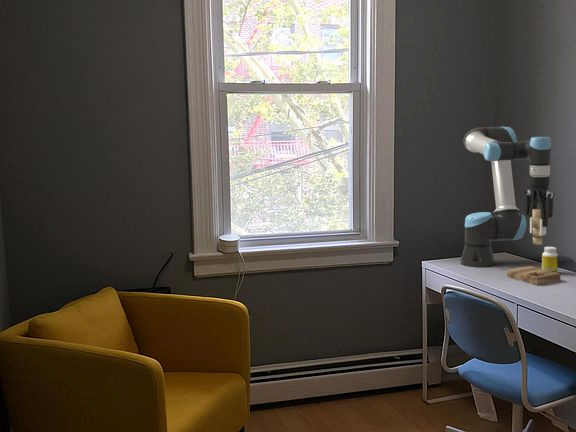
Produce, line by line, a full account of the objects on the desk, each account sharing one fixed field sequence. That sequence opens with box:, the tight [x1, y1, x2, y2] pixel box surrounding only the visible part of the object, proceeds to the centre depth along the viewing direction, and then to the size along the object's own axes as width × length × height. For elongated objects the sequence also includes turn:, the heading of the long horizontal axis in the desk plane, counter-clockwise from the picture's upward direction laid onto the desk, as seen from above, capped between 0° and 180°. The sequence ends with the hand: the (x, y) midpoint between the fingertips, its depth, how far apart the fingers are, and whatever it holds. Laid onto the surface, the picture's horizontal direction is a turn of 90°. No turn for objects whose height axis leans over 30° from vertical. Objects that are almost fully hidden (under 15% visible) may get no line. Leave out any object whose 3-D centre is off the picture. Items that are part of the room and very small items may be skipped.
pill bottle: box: [541, 246, 559, 273], centre depth 264 cm, size 6×6×11 cm
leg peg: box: [532, 208, 544, 246], centre depth 248 cm, size 4×4×14 cm
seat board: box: [506, 265, 561, 286], centre depth 256 cm, size 16×13×3 cm
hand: (537, 233), depth 249 cm, fingers closed on leg peg, 4 cm apart
